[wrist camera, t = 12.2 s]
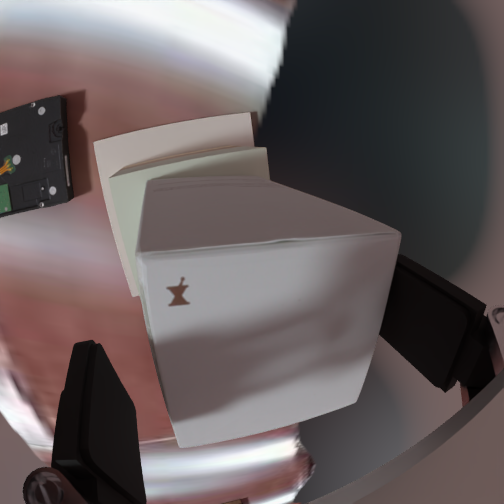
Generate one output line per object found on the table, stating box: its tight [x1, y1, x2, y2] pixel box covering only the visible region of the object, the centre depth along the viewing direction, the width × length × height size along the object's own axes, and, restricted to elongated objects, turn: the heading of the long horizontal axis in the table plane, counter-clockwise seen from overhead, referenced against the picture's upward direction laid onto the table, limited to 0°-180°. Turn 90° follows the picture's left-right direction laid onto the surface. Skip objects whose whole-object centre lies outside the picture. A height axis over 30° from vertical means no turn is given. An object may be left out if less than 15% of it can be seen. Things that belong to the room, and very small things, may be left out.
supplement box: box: [135, 176, 401, 448], centre depth 14 cm, size 7×7×13 cm
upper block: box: [108, 146, 270, 302], centre depth 22 cm, size 10×10×5 cm
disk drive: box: [0, 95, 74, 218], centre depth 21 cm, size 10×3×15 cm
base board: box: [93, 112, 254, 297], centre depth 29 cm, size 16×15×1 cm
